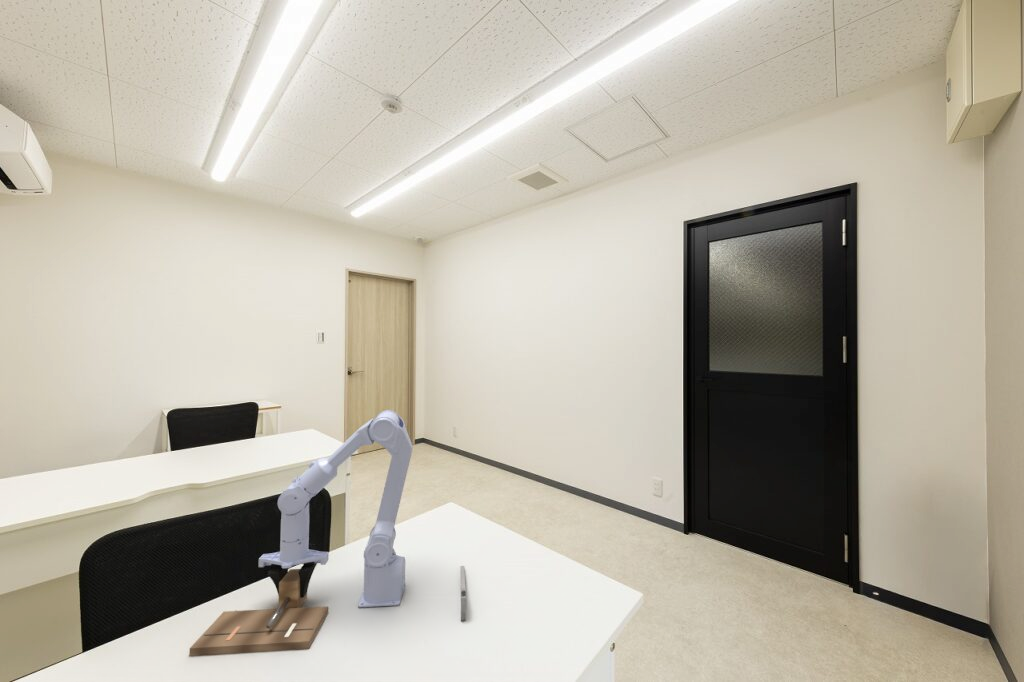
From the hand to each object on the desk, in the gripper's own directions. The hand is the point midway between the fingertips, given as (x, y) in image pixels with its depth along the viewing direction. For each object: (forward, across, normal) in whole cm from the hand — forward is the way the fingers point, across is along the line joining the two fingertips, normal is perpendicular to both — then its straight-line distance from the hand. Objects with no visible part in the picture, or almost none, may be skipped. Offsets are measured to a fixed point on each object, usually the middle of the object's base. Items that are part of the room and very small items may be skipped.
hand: (293, 595), depth 87 cm
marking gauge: (+2, 0, -4) cm, 5 cm away
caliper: (+3, +39, +2) cm, 39 cm away
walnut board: (+2, -2, -8) cm, 9 cm away
